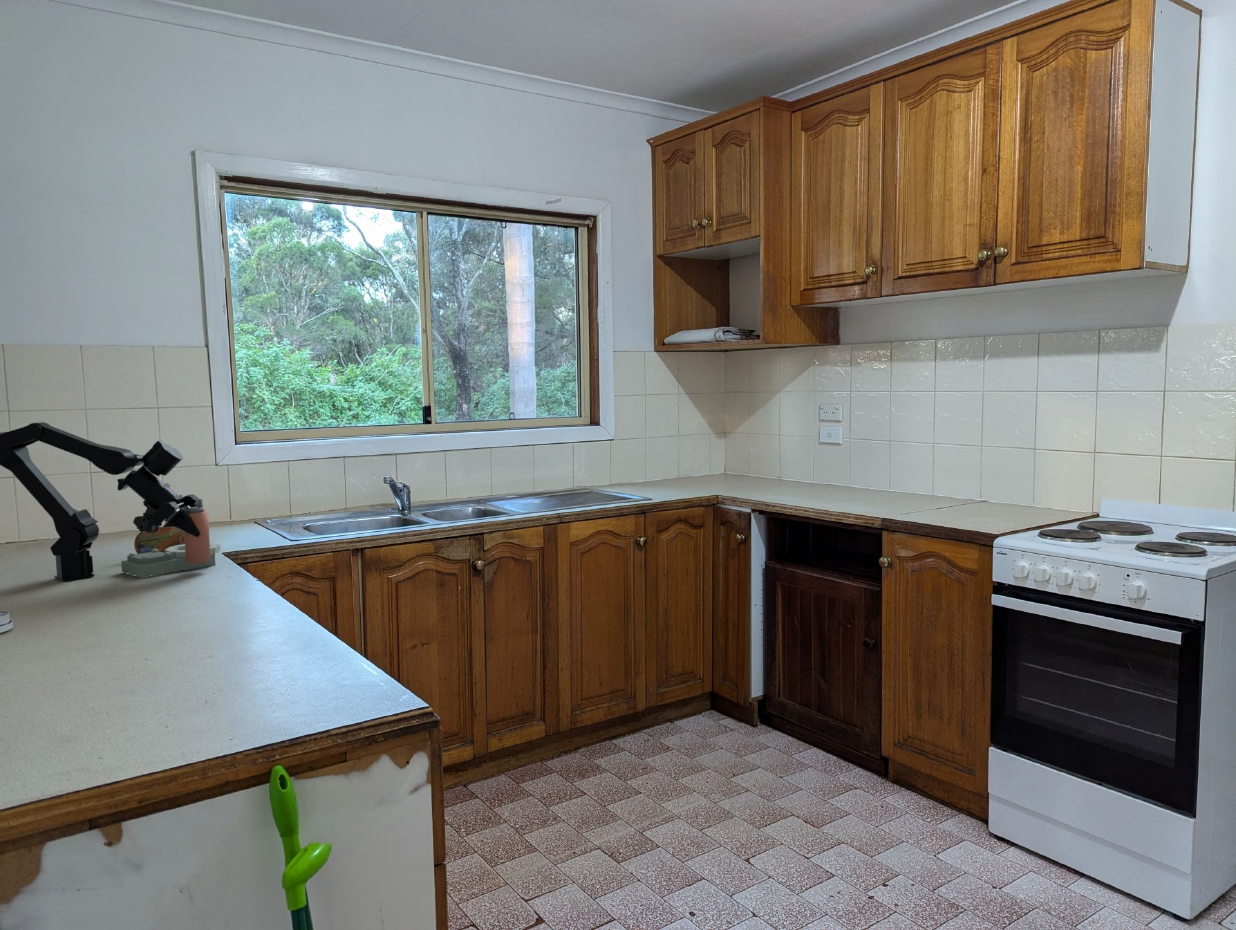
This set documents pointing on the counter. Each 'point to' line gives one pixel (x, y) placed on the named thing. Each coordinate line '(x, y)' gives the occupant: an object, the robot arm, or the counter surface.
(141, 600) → the counter surface
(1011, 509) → the counter surface
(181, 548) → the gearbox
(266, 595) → the counter surface
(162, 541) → the tin
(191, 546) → the oil can
